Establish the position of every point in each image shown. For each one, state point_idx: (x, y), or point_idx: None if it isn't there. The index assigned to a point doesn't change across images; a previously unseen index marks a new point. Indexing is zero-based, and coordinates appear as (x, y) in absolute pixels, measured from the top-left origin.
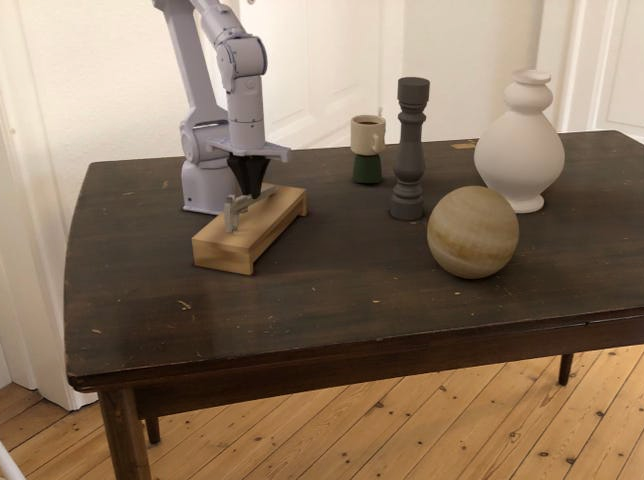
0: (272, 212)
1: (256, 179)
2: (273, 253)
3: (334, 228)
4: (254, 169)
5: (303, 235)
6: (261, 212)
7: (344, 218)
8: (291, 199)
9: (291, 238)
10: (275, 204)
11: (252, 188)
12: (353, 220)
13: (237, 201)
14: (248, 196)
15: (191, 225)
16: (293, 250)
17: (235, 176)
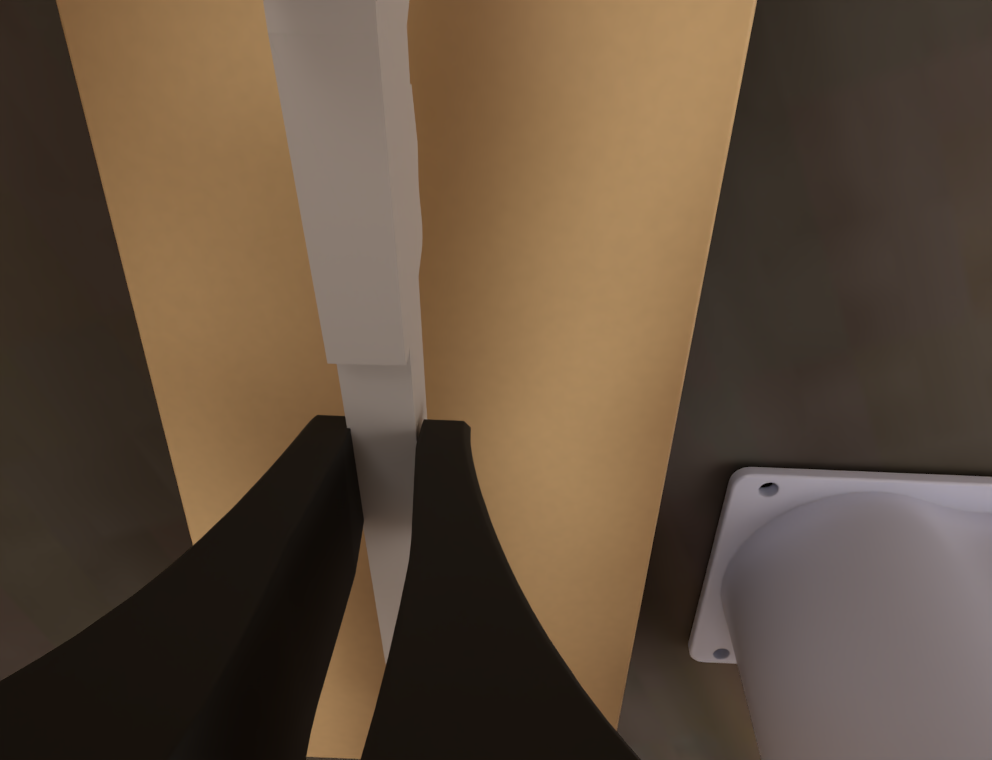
0: (246, 402)
1: (150, 583)
2: None
3: (35, 503)
4: (25, 718)
5: (146, 376)
6: (336, 377)
7: (67, 612)
8: None
9: None
10: None
11: (292, 488)
12: (8, 604)
13: (276, 38)
14: (381, 416)
15: (976, 300)
16: (64, 144)
17: (519, 596)
